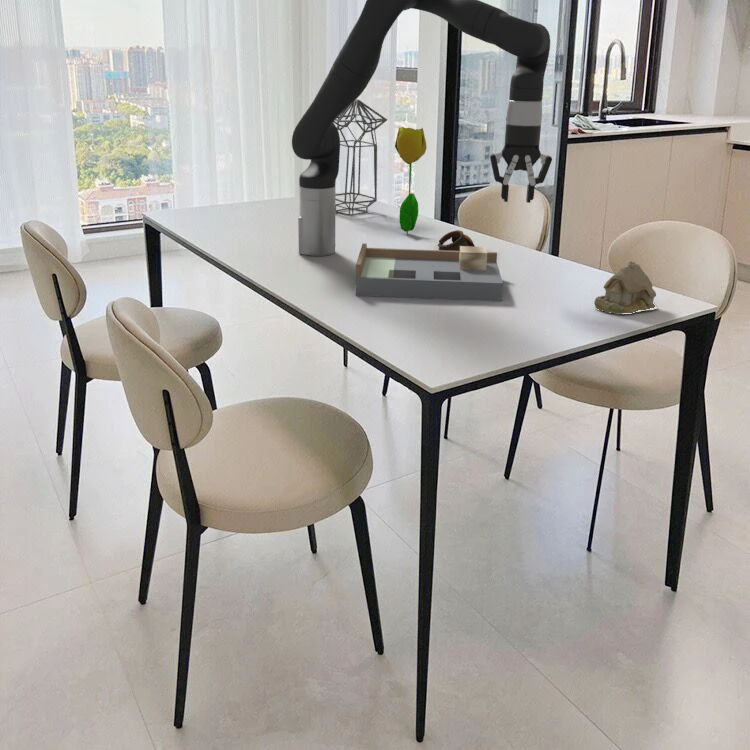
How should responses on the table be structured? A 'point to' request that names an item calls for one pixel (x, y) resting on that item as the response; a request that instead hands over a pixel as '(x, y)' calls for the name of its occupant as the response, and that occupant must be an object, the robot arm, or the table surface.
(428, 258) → the board
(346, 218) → the table surface
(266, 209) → the table surface
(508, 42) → the robot arm
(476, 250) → the maple block
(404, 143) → the flower
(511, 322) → the table surface
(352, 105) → the geometric lantern
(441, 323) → the table surface
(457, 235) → the brown curved piece
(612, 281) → the ceramic model
